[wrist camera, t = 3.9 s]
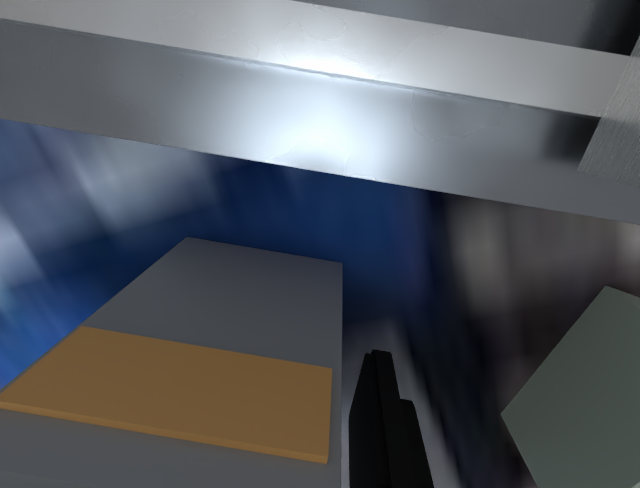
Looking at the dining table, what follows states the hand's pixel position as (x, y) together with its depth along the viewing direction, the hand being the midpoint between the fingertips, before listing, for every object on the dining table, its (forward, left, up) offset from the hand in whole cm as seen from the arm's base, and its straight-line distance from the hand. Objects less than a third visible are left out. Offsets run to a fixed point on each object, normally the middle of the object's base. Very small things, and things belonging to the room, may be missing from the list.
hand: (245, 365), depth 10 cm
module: (0, 0, -1) cm, 1 cm away
